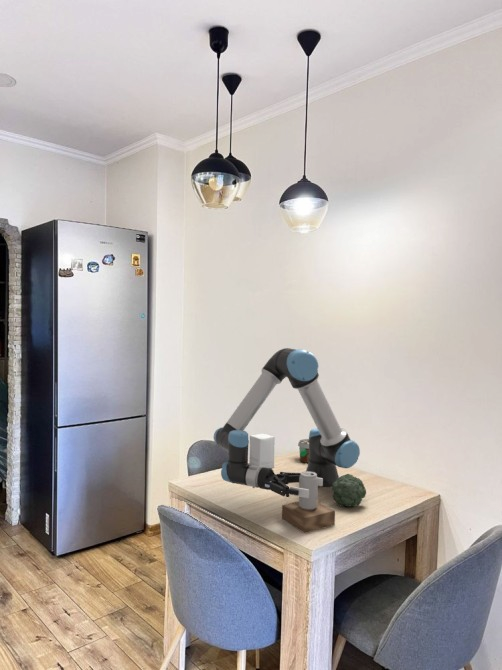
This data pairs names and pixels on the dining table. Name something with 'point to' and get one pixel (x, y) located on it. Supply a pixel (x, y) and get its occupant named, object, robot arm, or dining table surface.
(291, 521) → the walnut block
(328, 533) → the dining table surface
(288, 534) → the dining table surface
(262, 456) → the supplement box
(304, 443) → the food container
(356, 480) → the vegetable
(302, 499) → the beverage can
